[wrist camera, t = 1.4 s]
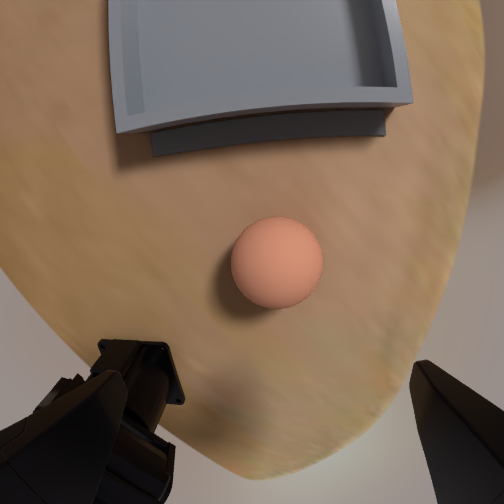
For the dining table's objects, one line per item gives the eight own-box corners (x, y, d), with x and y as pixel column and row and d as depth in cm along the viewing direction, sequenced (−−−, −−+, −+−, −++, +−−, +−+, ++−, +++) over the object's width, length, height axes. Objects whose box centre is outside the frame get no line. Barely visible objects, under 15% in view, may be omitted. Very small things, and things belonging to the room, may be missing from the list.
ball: (320, 282, 21) (327, 323, 16) (242, 286, 21) (230, 328, 17) (316, 204, 19) (325, 227, 14) (233, 211, 20) (216, 235, 15)
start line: (385, 135, 17) (385, 135, 17) (154, 156, 19) (153, 156, 19) (383, 110, 17) (383, 110, 17) (151, 133, 18) (150, 133, 18)
